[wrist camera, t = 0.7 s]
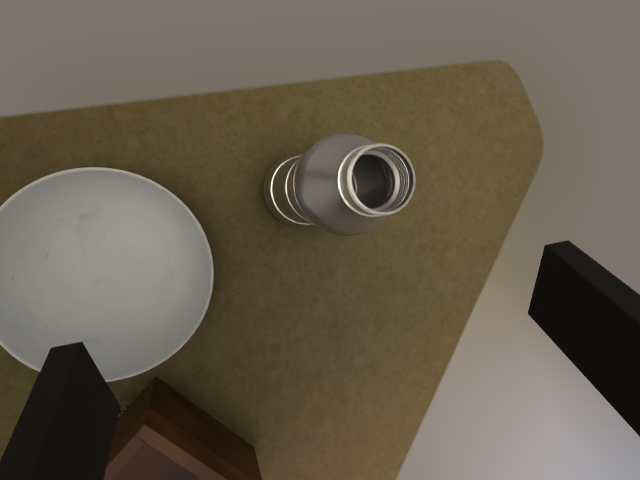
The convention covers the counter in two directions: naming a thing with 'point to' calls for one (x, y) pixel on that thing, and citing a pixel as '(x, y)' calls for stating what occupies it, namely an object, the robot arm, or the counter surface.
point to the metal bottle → (340, 185)
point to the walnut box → (176, 442)
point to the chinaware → (101, 270)
